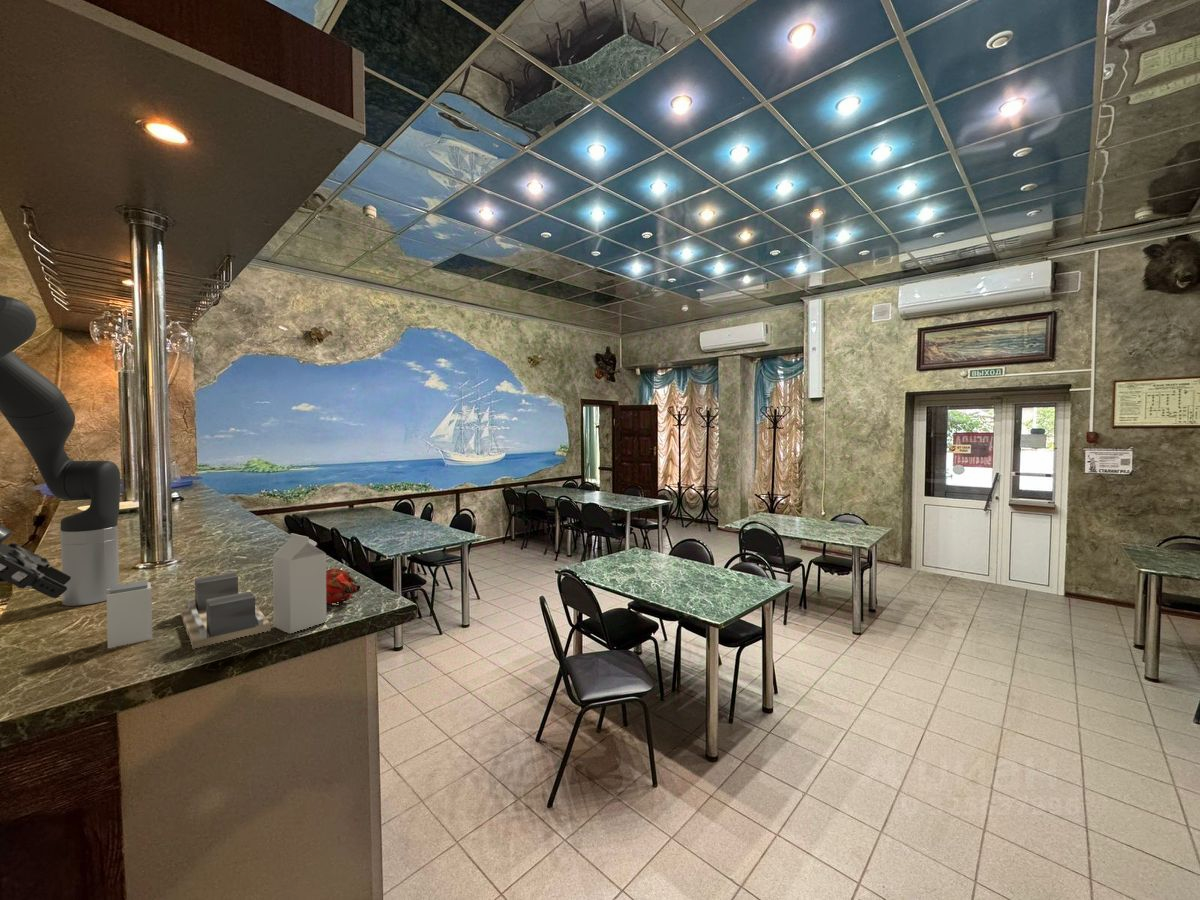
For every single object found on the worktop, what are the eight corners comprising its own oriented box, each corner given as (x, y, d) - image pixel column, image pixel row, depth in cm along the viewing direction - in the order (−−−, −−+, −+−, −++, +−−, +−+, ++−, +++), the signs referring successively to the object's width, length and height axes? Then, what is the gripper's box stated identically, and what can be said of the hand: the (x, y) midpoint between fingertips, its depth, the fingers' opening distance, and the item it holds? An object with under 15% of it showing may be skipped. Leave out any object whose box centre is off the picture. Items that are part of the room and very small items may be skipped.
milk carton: (290, 635, 94) (289, 540, 93) (273, 627, 97) (272, 536, 97) (326, 623, 100) (326, 534, 99) (309, 616, 103) (308, 530, 103)
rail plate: (180, 614, 104) (179, 580, 103) (247, 601, 112) (247, 570, 112) (192, 649, 87) (192, 609, 87) (270, 630, 96) (270, 594, 95)
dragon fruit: (326, 601, 117) (350, 619, 110) (297, 589, 111) (320, 607, 104) (349, 570, 120) (373, 586, 114) (321, 557, 114) (345, 572, 107)
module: (108, 640, 91) (106, 586, 90) (151, 631, 95) (149, 579, 95) (107, 648, 87) (106, 592, 87) (152, 639, 91) (151, 585, 91)
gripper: (-28, 521, 73) (83, 578, 82) (-10, 510, 83) (87, 562, 92) (-86, 561, 69) (37, 617, 78) (-60, 545, 79) (46, 596, 88)
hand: (64, 587), depth 85 cm, fingers open, 8 cm apart
